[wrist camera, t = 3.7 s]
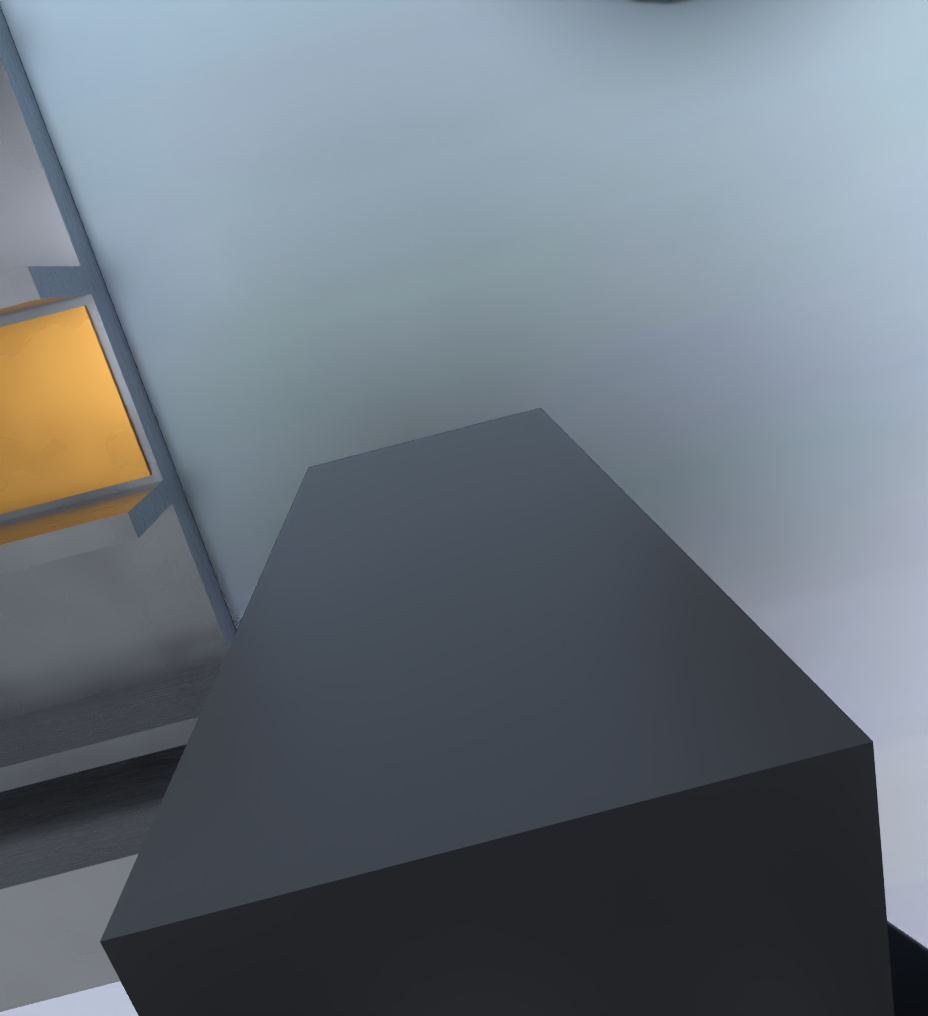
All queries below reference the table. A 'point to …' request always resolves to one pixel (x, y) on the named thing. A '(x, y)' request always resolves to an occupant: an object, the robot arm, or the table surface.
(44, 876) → the rack
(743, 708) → the blanking panel
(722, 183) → the table surface
